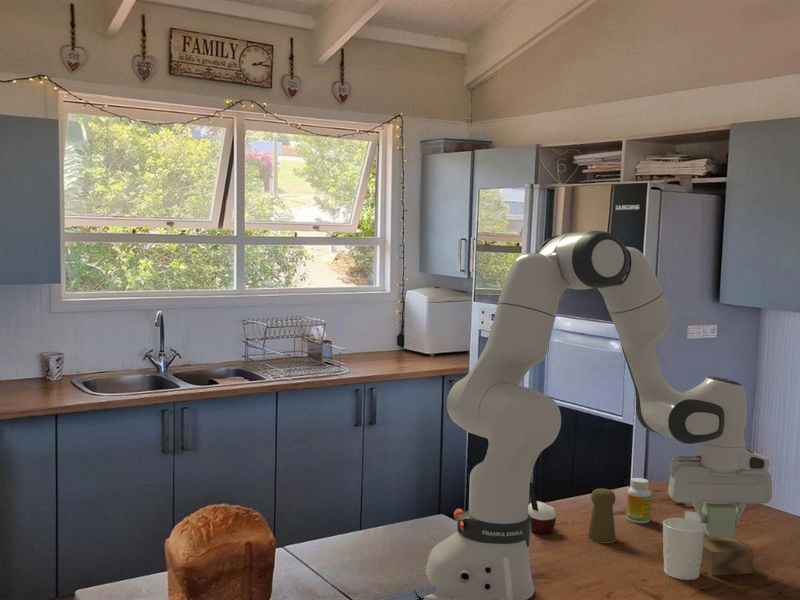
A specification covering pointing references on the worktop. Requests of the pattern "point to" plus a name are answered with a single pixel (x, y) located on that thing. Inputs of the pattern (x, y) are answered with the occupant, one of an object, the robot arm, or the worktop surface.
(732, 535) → the sage block
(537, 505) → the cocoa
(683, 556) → the white cup
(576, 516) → the worktop surface
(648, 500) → the supplement bottle
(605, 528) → the cork
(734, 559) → the walnut block
